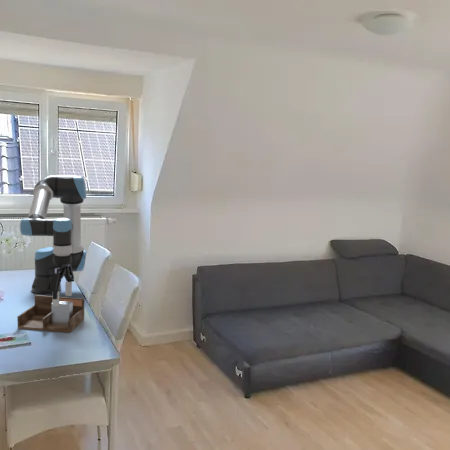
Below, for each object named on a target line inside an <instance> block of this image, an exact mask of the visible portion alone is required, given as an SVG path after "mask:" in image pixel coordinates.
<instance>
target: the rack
mask: <svg viewBox="0 0 450 450" xmlns="http://www.w3.org/2000/svg"><path fill="white" fill-rule="evenodd" d="M59 301H68V302H73V317H72V318H70V319H69V320H68V326H58V325H52V295H45V294H34V304H33V305H32V306H30V307H29V308H28V309H26V310H25V311H23V312H21V313H20V314H19V315H17V320H16V321H17V329H18V330H19V329H20V330H33V331H45V332H56V333H66V334H70V333H71V332H72V331H73V330H75V329H76V328H77V327H78V326H79V325H80V324H81V323H82V322H83V321H84V320H85V298H78V297H70V296H59Z"/></svg>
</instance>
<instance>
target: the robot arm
mask: <svg viewBox="0 0 450 450" xmlns="http://www.w3.org/2000/svg"><path fill="white" fill-rule="evenodd" d="M32 196H33V198H32V202H31V205H30V209H29V211H28V212H29V213H28V217H27V218H22V219H21V220H20V227H19V229H20V234H21V235H22V236H25V237H26V236H28V237H34V236H35V237H44V236H45V237H53V241H52V242H53V244H52V245H53V246H48V247H47V246H46V247H43V248H39V249H37V250H36V251H35V253H34V258H33V259H34V279H33V281H32V285H31V292H32V293H34V294H37V295H47V294H48V295H49V294H52V295H51V296H52V306H59V297H60V291H61V290H62V285H61V282H62V279H63V278H65V285H64V287H65V290H64V291H65V292H64V293H65V295H64V297H72V295H73V288H72V287H73V286H72V285H73V284H72V283H73V282H75V275H74V272H75V273H76V272H83V271H84V269H85V265H86V258H87V250H85V249H84V246H83V245H82V235H81V234H82V230H81V228H82V227H81V226H82V225H81V223H82V222H81V221H82V219H81V214H82V213H81V210H82V209H81V206H82V204H83V203H84V200H85V199H87V187H86V181H85V179H84V177H83V176H79V175H60V174H59V175H55V174H53V175H48V176H46V177H44V178H42V179H40V180H39V181H37V183H36V184H35V186H34V187H33V189H32ZM54 198H55V199H60V201H59V202H60V203H61V204H62V205H63V217H59V218H47V215H48V211H49V206H50V202H51V200H52V199H54Z"/></svg>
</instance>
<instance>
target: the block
mask: <svg viewBox="0 0 450 450" xmlns="http://www.w3.org/2000/svg"><path fill="white" fill-rule="evenodd" d="M72 317H73V302H68V301H59V306H52V325H58V326H68V320H69V319H70V318H72Z"/></svg>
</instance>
